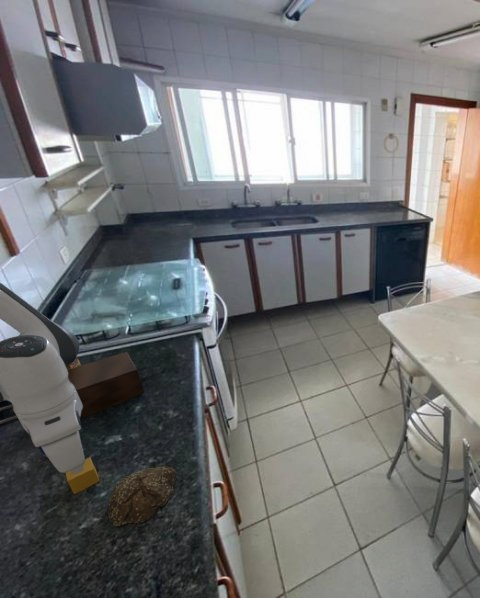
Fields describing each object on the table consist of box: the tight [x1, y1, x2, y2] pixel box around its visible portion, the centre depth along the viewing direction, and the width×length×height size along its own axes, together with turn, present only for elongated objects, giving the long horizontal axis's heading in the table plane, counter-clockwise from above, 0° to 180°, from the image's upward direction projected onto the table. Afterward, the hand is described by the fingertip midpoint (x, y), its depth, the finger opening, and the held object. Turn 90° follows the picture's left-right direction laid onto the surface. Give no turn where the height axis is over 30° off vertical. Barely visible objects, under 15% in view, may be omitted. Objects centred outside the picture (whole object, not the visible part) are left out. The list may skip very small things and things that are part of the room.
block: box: [65, 456, 100, 495], centre depth 75 cm, size 4×4×4 cm
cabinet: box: [68, 351, 145, 419], centre depth 99 cm, size 15×13×10 cm
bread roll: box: [107, 465, 179, 527], centre depth 72 cm, size 13×12×5 cm
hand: (74, 457), depth 73 cm, fingers open, 8 cm apart
